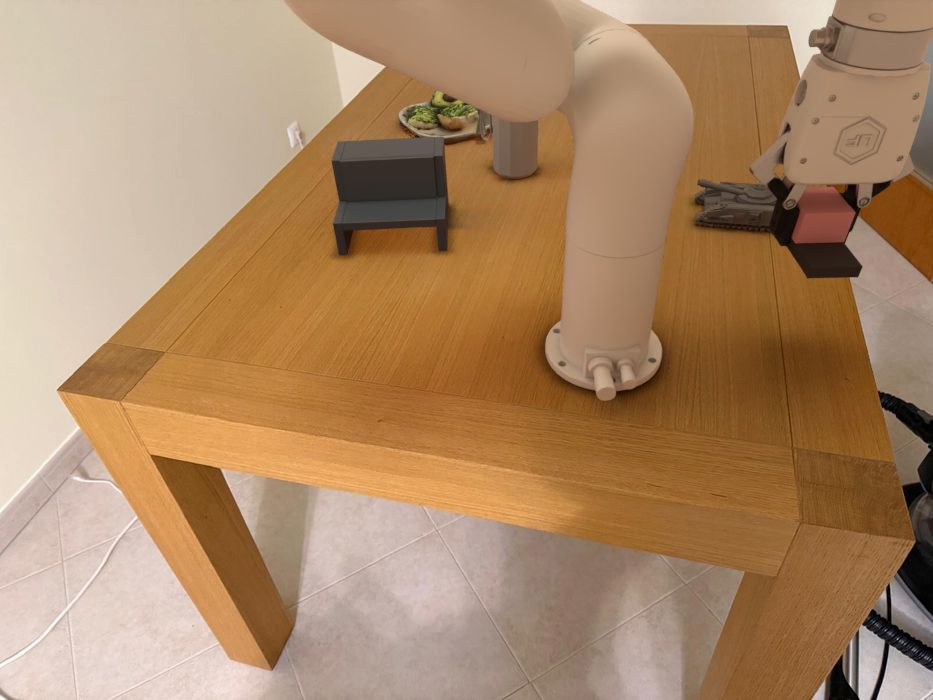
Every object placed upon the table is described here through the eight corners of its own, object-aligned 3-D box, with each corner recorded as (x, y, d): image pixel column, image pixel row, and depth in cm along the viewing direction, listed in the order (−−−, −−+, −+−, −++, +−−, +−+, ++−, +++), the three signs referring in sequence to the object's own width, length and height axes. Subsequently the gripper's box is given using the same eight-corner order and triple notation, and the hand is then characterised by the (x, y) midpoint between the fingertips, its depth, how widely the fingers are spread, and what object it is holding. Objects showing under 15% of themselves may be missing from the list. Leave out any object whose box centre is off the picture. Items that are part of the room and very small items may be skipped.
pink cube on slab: (858, 277, 62) (876, 235, 59) (807, 278, 62) (822, 236, 59) (819, 226, 69) (833, 186, 66) (773, 227, 69) (785, 187, 66)
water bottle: (542, 161, 111) (546, -7, 95) (532, 184, 106) (535, 9, 89) (487, 157, 113) (482, -8, 97) (475, 179, 108) (468, 8, 91)
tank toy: (692, 229, 94) (698, 195, 90) (691, 196, 100) (697, 163, 97) (785, 237, 91) (795, 202, 88) (778, 202, 98) (787, 168, 95)
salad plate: (524, 133, 120) (524, 107, 117) (431, 157, 114) (429, 131, 111) (474, 98, 133) (473, 74, 130) (389, 118, 127) (386, 93, 124)
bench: (447, 251, 92) (441, 176, 85) (339, 255, 93) (324, 181, 86) (448, 206, 101) (443, 136, 94) (350, 211, 102) (337, 141, 95)
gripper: (785, 61, 52) (731, 261, 64) (1009, 55, 52) (912, 257, 64) (754, 31, 58) (709, 220, 70) (955, 26, 57) (876, 216, 69)
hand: (807, 236), depth 67 cm, fingers closed on pink cube on slab, 4 cm apart
